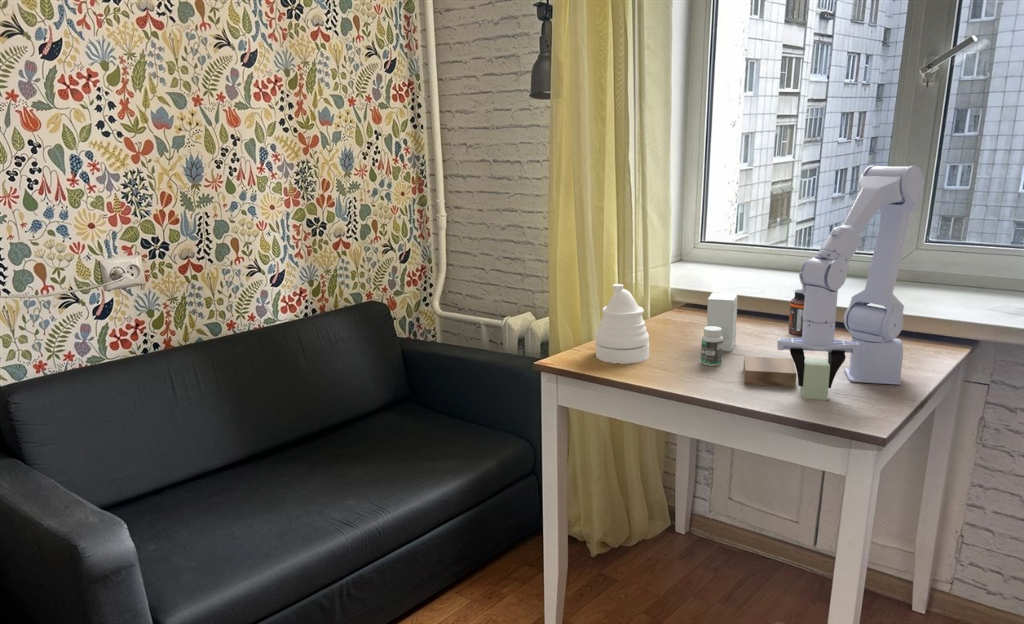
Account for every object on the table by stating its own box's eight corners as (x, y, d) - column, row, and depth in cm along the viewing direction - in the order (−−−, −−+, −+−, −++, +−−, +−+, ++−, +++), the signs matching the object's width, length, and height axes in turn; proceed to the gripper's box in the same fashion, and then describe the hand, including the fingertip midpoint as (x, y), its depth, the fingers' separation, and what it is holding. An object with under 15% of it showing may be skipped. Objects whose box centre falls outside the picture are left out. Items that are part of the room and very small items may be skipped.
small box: (710, 340, 173) (712, 291, 170) (736, 343, 171) (738, 293, 167) (705, 349, 166) (707, 298, 163) (732, 352, 163) (734, 300, 160)
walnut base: (791, 371, 148) (792, 358, 147) (795, 387, 139) (796, 373, 138) (743, 368, 151) (744, 356, 150) (744, 383, 142) (745, 370, 141)
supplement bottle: (785, 329, 180) (788, 288, 178) (809, 329, 180) (812, 288, 177) (791, 335, 175) (794, 293, 172) (815, 336, 174) (818, 293, 171)
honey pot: (631, 367, 155) (632, 291, 151) (585, 357, 163) (584, 285, 159) (658, 353, 165) (659, 281, 160) (613, 345, 173) (613, 276, 169)
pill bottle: (696, 362, 157) (697, 327, 155) (709, 358, 159) (711, 324, 157) (713, 367, 153) (714, 332, 151) (726, 363, 155) (727, 328, 153)
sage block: (824, 392, 136) (826, 359, 134) (827, 400, 132) (830, 366, 130) (800, 390, 137) (802, 357, 135) (802, 398, 133) (805, 364, 131)
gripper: (780, 323, 129) (776, 389, 132) (864, 326, 125) (858, 395, 128) (778, 314, 136) (774, 378, 139) (857, 317, 131) (851, 382, 134)
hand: (814, 385), depth 134 cm, fingers closed on sage block, 4 cm apart
